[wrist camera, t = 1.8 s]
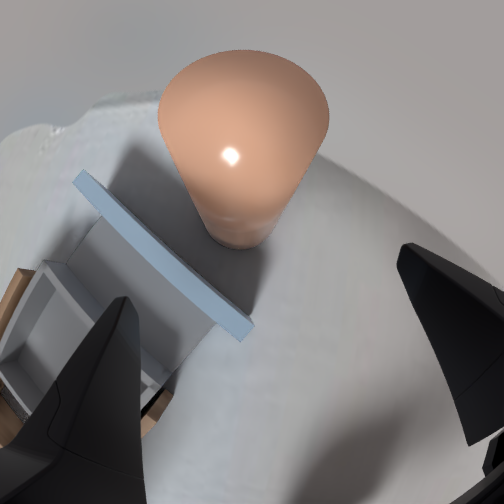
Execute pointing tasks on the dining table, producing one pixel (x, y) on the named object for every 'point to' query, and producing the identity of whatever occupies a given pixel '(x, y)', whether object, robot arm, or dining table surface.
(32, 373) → the tray
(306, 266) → the dining table surface
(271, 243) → the dining table surface
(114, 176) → the dining table surface
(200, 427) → the dining table surface
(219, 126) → the peach tall cylinder
